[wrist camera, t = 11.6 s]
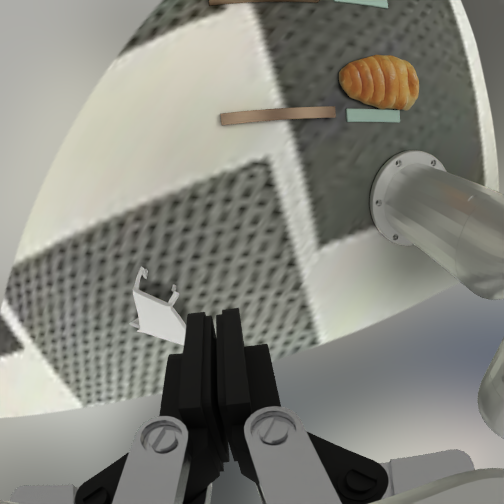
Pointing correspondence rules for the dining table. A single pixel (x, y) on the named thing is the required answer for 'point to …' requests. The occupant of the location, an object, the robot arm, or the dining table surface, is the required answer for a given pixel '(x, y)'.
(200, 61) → the dining table surface
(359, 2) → the strips
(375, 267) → the dining table surface
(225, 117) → the chute
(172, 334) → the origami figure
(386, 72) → the pastry
